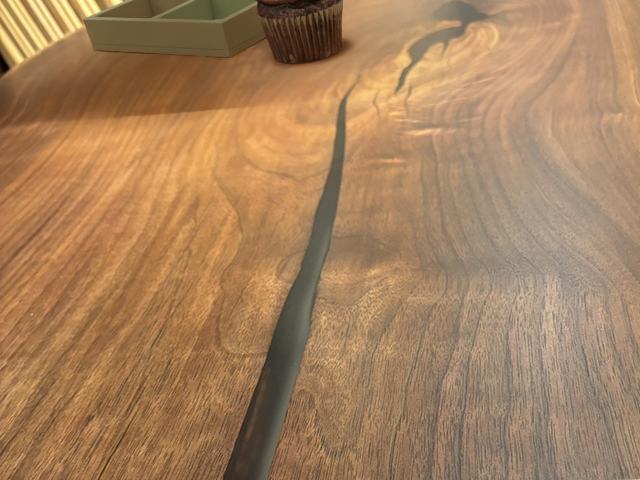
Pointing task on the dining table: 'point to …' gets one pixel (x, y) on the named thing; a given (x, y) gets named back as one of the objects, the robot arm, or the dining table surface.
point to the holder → (176, 27)
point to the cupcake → (301, 28)
